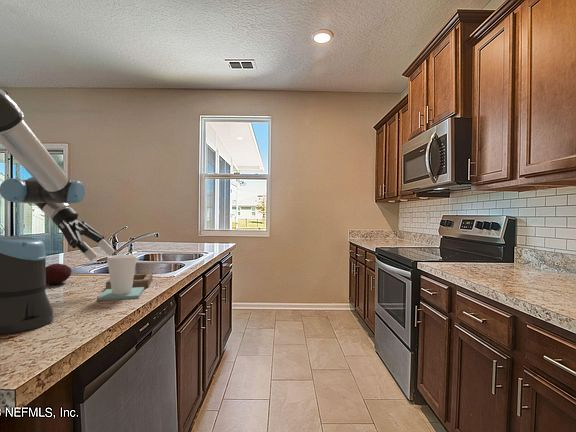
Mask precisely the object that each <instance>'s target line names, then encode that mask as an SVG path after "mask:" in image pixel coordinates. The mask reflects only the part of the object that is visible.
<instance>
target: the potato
mask: <svg viewBox="0 0 576 432" xmlns="http://www.w3.org/2000/svg"><path fill="white" fill-rule="evenodd" d="M71 275H72V268H71V267H70V266H68V264H67V265H66V264H63V263H53V264H49V265H46V284H45V285H57V284H58V285H59V284H61V283H64V282H65V281H67V280H68V279H69V278H70V277H71Z"/></svg>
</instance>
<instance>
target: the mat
mask: <svg viewBox="0 0 576 432" xmlns="http://www.w3.org/2000/svg"><path fill="white" fill-rule="evenodd" d="M144 291H145V288H144V287H135V288H132V291H131V292H130V293H126V294H113V293H112V289H106V288H105V290H104V291H103V292H102V293H101V294H100V295H98V296H97V298H96V300H97V302H98V301H99V302H101V301H115V300H117V301H118V300H129V299H132V300H133V299H140V297H141V295H142V294H143V292H144Z"/></svg>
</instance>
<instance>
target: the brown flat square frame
mask: <svg viewBox="0 0 576 432" xmlns="http://www.w3.org/2000/svg"><path fill="white" fill-rule="evenodd" d="M153 275H154V274H153V272H151V273H150V272H148V273H134V278H133V285H132V288H135V287H144V289H147V288H149V287H150V285H151V283H152V282H153V280H154V279H153V278H154V277H153ZM106 289H111V282H110V278H109V279H108V280H107V281H106V282H105V290H106Z"/></svg>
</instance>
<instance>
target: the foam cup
mask: <svg viewBox="0 0 576 432" xmlns="http://www.w3.org/2000/svg"><path fill="white" fill-rule="evenodd" d="M106 260H107V264H106V265H107V266H108V267H107V268H108V273H109V279H110V282H111V289H112V293H113V294H126V293H130V292H131V291H132V285H133V278H134V274H135V270H136V264H137V255H135V254H117V255H110V256H109V255H107V259H106Z"/></svg>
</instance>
